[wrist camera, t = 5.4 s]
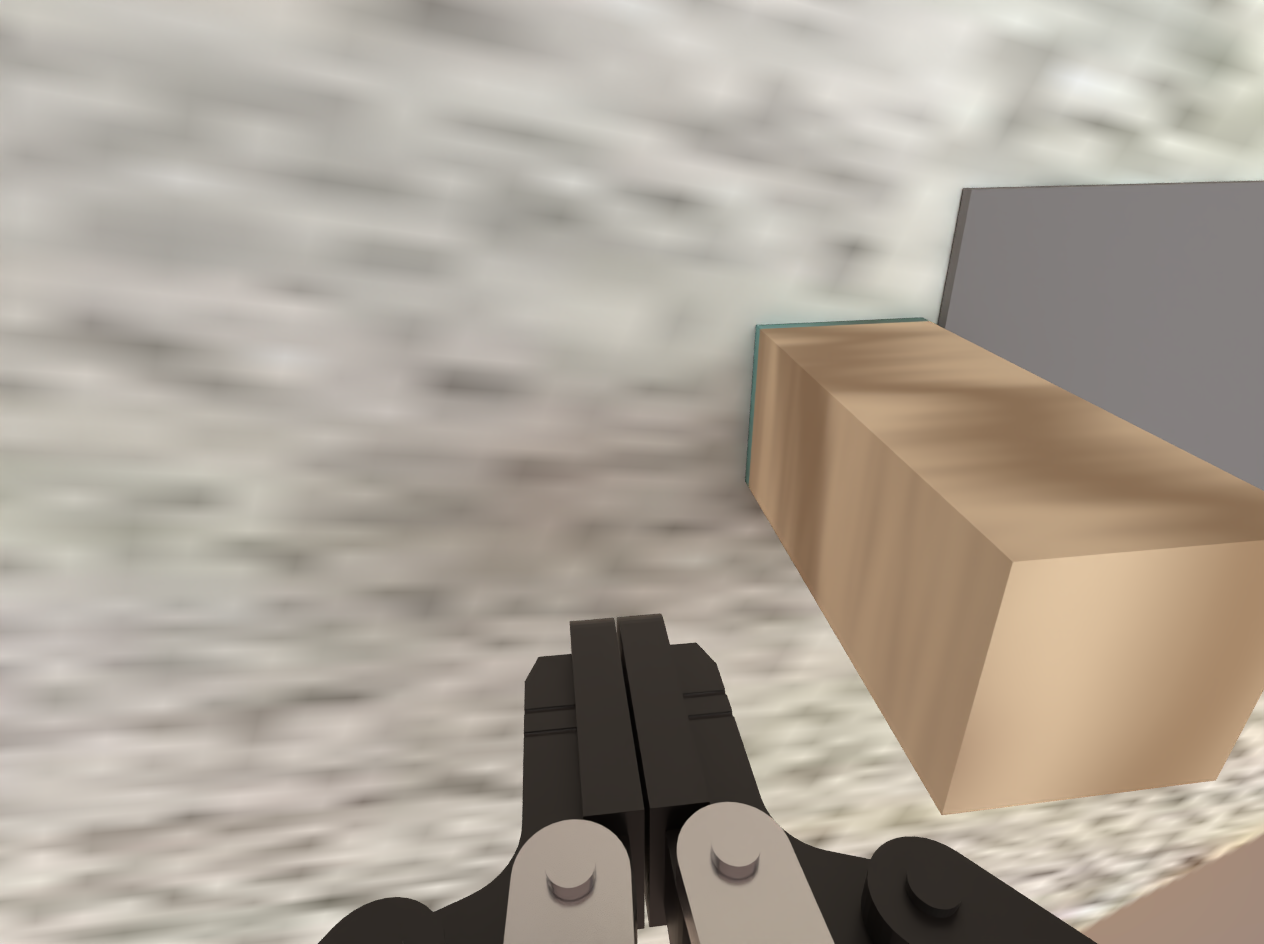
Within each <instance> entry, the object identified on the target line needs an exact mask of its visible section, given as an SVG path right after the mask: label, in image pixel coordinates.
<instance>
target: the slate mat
mask: <svg viewBox="0 0 1264 944" xmlns="http://www.w3.org/2000/svg"><path fill="white" fill-rule="evenodd" d="M938 326H940V327H942V328H944V329H946V330H948V331H950V332H952V333H954V334H956V335H958V336H960V337H962V338H964V339H966V340H968V341H970V342H972V343H974V344H976V345H978V346H980V347H982V348H983V349H985V350H987V351H989V352H991V353H993V354H995V355H997V356H999V357H1001V358H1003V359H1005V360H1007V361H1009V362H1011V363H1013V364H1015V365H1017V366H1019V367H1021V368H1023V369H1025V370H1027V371H1029V372H1031V373H1033V374H1035V375H1037V376H1039V377H1041V378H1042V379H1044V380H1046V381H1048V382H1050V383H1052V384H1054V385H1056V386H1058V387H1060V388H1062V389H1064V390H1066V391H1068V392H1070V393H1072V394H1074V395H1076V396H1078V397H1080V398H1082V399H1084V400H1086V401H1088V402H1090V403H1092V404H1094V405H1096V406H1098V407H1100V408H1102V409H1103V410H1105V411H1107V412H1109V413H1111V414H1113V415H1115V416H1117V417H1119V418H1121V419H1123V420H1125V421H1127V422H1129V423H1131V424H1133V425H1135V426H1137V427H1139V428H1141V429H1143V430H1145V431H1147V432H1149V433H1151V434H1153V435H1155V436H1157V437H1159V438H1161V439H1163V440H1164V441H1166V442H1168V443H1170V444H1172V445H1174V446H1176V447H1178V448H1180V449H1182V450H1184V451H1186V452H1188V453H1190V454H1192V455H1194V456H1196V457H1198V458H1200V459H1202V460H1204V461H1206V462H1208V463H1210V464H1212V465H1214V466H1216V467H1218V468H1220V469H1222V470H1223V471H1225V472H1227V473H1229V474H1231V475H1233V476H1235V477H1237V478H1239V479H1241V480H1243V481H1245V482H1247V483H1249V484H1251V485H1253V486H1255V487H1257V488H1259V489H1261V490H1263V491H1264V181H1232V182H1193V183H1154V184H1115V185H1076V186H1036V187H997V188H964V189H963V194H962V200H961V205H960V210H959V216H958V221H957V226H956V231H955V237H954V242H953V247H952V253H951V258H950V263H949V269H948V274H947V279H946V285H945V290H944V295H943V300H942V306H941V311H940V316H939V322H938Z"/></svg>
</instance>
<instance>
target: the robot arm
mask: <svg viewBox="0 0 1264 944" xmlns="http://www.w3.org/2000/svg"><path fill="white" fill-rule="evenodd" d="M570 635H571V652H572V654H566V655H555V656H544V657H538V659H537V661H536V663H535V665H534V666H533V668H532V670H531V672H530V673H529V675H528V677H527V679H526V681H525V704H524V710H525V715H524V758H523V812H522V832H521V838H520V841H519V845H518V847H517V850H516V852H515V854H514V856H513V857H512V859H511V861H510V862H509V864H508V865H507V866H506V868H505V869H504V870H503V871H502V872H501V874H500V875H499V876H497V877H496V878H495V879H494V880H493V881H492V882H491V883H489V884H488V885H487V886H485V887H484V888H482V889H481V890H479V891H477V892H475V893H474V894H472V895H470V896H468V897H465V898H463V899H461V900H459V901H457V902H455V903H452V904H450V905H448V906H446V907H444V908H442V909H439V910H437V911H435V912H432V911H431V910H430V909H429V908H428V907H427V906H425V905H424V904H422V903H420V902H418V901H416V900H412V899H409V898H401V897H393V898H384V899H380V900H376V901H373V902H371V903H368V904H366V905H363V906H362V907H360V908H358V909H356V910H354V911H353V912H351V913H350V914H349V915H347V916H346V917H344V918H343V919H342V920H341V921H340V922H339V923H338V924H336V925H335V926H334V927H333V928H332V929H331V930H330V931H329V932H328V933H327V935H326V936H325V937H324V938H323V939H322V940H321V941H320V942H319V943H318V944H637V929H643V928H644V893H645V900H646V907H647V914H648V921H649V927H655V926H662V925H667V927H668V934H669V940H670V944H1097V943H1096V942H1094V941H1092V940H1091V939H1090V938H1088V937H1086V936H1085V935H1083V934H1082V933H1080V932H1079V931H1077V930H1076V929H1074V928H1073V927H1071V926H1070V925H1068V924H1067V923H1065V922H1064V921H1062V920H1061V919H1059V918H1057V917H1056V916H1054V915H1053V914H1051V913H1050V912H1048V911H1047V910H1045V909H1044V908H1042V907H1041V906H1039V905H1038V904H1036V903H1035V902H1033V901H1032V900H1030V899H1028V898H1027V897H1025V896H1024V895H1022V894H1021V893H1019V892H1018V891H1016V890H1015V889H1013V888H1012V887H1010V886H1009V885H1007V884H1006V883H1004V882H1003V881H1001V880H999V879H998V878H996V877H995V876H993V875H992V874H990V873H989V872H987V871H986V870H984V869H983V868H981V867H980V866H978V865H977V864H975V863H974V862H972V861H970V860H969V859H967V858H966V857H964V856H963V855H961V854H960V853H958V852H957V851H955V850H953V849H951V848H950V847H948V846H946V845H944V844H941V843H939V842H937V841H934V840H930V839H927V838H921V837H900V838H895V839H893V840H890V841H888V842H886V843H884V844H883V845H881V846H880V847H879V848H878V849H877V850H876V851H875V853H874V854H873V856H872V858H871V859H866V858H861V857H856V856H851V855H846V854H841V853H836V852H831V851H826V850H822V849H819V848H815V847H812V846H810V845H808V844H805V843H803V842H801V841H799V840H798V839H796V838H794V837H793V836H791V835H790V834H789V833H787V832H786V831H784V830H783V829H782V828H781V827H780V825H779V824H778V823H777V822H776V821H774V819H773V818H772V817H771V816H770V814H769V813H768V811H767V809H766V808H765V806H764V804H763V801H762V799H761V796H760V793H759V790H758V787H757V784H756V781H755V778H754V775H753V772H752V769H751V766H750V763H749V760H748V757H747V754H746V751H745V748H744V745H743V742H742V739H741V736H740V733H739V730H738V727H737V724H736V721H735V718H734V717H733V715H732V709H731V706H730V703H729V700H728V697H727V695H726V694H725V688H724V685H723V682H722V679H721V676H720V673H719V670H718V667H717V664H716V663H715V662H714V661H713V660H712V659H711V658H710V657H709V655H708V654H707V653H706V652H705V651H704V650H703V649H702V648H701V647H700V646H699V645H698V644H697V643H687V644H675V645H670V644H669V640H668V636H667V632H666V628H665V624H664V620H663V617H662V615H661V614H650V615H638V616H626V617H617V633H616V627H615V621H614V618H605V619H593V620H581V621H570Z"/></svg>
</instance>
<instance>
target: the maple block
mask: <svg viewBox="0 0 1264 944" xmlns="http://www.w3.org/2000/svg"><path fill="white" fill-rule="evenodd" d="M745 482H746V483H747V485H748V487H749V488H750V490H751V492H752V493H753V495H754V497H755V499H756V500H757V502H758V504H759V505H760V507H761V509H762V510H763V512H764V514H765V516H766V517H767V519H768V521H769V522H770V524H771V526H772V527H773V529H774V531H775V533H776V534H777V536H778V538H779V539H780V541H781V543H782V544H783V546H784V548H785V550H786V551H787V553H788V555H789V556H790V558H791V560H792V561H793V563H794V565H795V567H796V568H797V570H798V572H799V573H800V575H801V577H802V578H803V580H804V582H805V584H806V585H807V587H808V589H809V590H810V592H811V594H812V595H813V597H814V599H815V601H816V602H817V604H818V606H819V607H820V609H821V611H822V612H823V614H824V616H825V618H826V619H827V621H828V623H829V624H830V626H831V628H832V629H833V631H834V633H835V635H836V636H837V638H838V640H839V641H840V643H841V645H842V646H843V648H844V650H845V652H846V653H847V655H848V657H849V658H850V660H851V662H852V663H853V665H854V667H855V669H856V670H857V672H858V674H859V675H860V677H861V679H862V680H863V682H864V684H865V686H866V687H867V689H868V691H869V692H870V694H871V696H872V697H873V699H874V701H875V703H876V704H877V706H878V708H879V709H880V711H881V713H882V714H883V716H884V718H885V720H886V721H887V723H888V725H889V726H890V728H891V730H892V731H893V733H894V735H895V737H896V738H897V740H898V742H899V743H900V745H901V747H902V748H903V750H904V752H905V754H906V755H907V757H908V759H909V760H910V762H911V764H912V765H913V767H914V769H915V771H916V772H917V774H918V776H919V777H920V779H921V781H922V782H923V784H924V786H925V788H926V789H927V791H928V793H929V794H930V796H931V798H932V799H933V801H934V803H935V805H936V806H937V808H938V810H939V811H940V813H941V815H947V814H955V813H963V812H971V811H978V810H986V809H994V808H1002V807H1010V806H1018V805H1026V804H1033V803H1041V802H1049V801H1057V800H1065V799H1073V798H1081V797H1088V796H1096V795H1104V794H1112V793H1120V792H1128V791H1136V790H1143V789H1151V788H1159V787H1167V786H1175V785H1183V784H1191V783H1198V782H1206V781H1214V780H1216V779H1217V777H1218V775H1219V773H1220V771H1221V769H1222V768H1223V766H1224V764H1225V762H1226V760H1227V758H1228V756H1229V754H1230V752H1231V750H1232V749H1233V747H1234V745H1235V743H1236V741H1237V739H1238V737H1239V735H1240V733H1241V731H1242V730H1243V728H1244V726H1245V724H1246V722H1247V720H1248V718H1249V716H1250V714H1251V713H1252V711H1253V709H1254V707H1255V705H1256V703H1257V701H1258V699H1259V697H1260V695H1261V694H1262V692H1263V690H1264V491H1263V490H1261V489H1259V488H1257V487H1255V486H1253V485H1251V484H1249V483H1247V482H1245V481H1243V480H1241V479H1239V478H1237V477H1235V476H1233V475H1231V474H1229V473H1227V472H1225V471H1223V470H1222V469H1220V468H1218V467H1216V466H1214V465H1212V464H1210V463H1208V462H1206V461H1204V460H1202V459H1200V458H1198V457H1196V456H1194V455H1192V454H1190V453H1188V452H1186V451H1184V450H1182V449H1180V448H1178V447H1176V446H1174V445H1172V444H1170V443H1168V442H1166V441H1164V440H1163V439H1161V438H1159V437H1157V436H1155V435H1153V434H1151V433H1149V432H1147V431H1145V430H1143V429H1141V428H1139V427H1137V426H1135V425H1133V424H1131V423H1129V422H1127V421H1125V420H1123V419H1121V418H1119V417H1117V416H1115V415H1113V414H1111V413H1109V412H1107V411H1105V410H1103V409H1102V408H1100V407H1098V406H1096V405H1094V404H1092V403H1090V402H1088V401H1086V400H1084V399H1082V398H1080V397H1078V396H1076V395H1074V394H1072V393H1070V392H1068V391H1066V390H1064V389H1062V388H1060V387H1058V386H1056V385H1054V384H1052V383H1050V382H1048V381H1046V380H1044V379H1042V378H1041V377H1039V376H1037V375H1035V374H1033V373H1031V372H1029V371H1027V370H1025V369H1023V368H1021V367H1019V366H1017V365H1015V364H1013V363H1011V362H1009V361H1007V360H1005V359H1003V358H1001V357H999V356H997V355H995V354H993V353H991V352H989V351H987V350H985V349H983V348H982V347H980V346H978V345H976V344H974V343H972V342H970V341H968V340H966V339H964V338H962V337H960V336H958V335H956V334H954V333H952V332H950V331H948V330H946V329H944V328H942V327H940V326H938V325H936V324H934V323H932V322H930V321H928V320H926V319H924V318H902V319H880V320H859V321H837V322H816V323H794V324H772V325H756V333H755V347H754V361H753V376H752V390H751V405H750V419H749V434H748V448H747V463H746V477H745Z"/></svg>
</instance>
